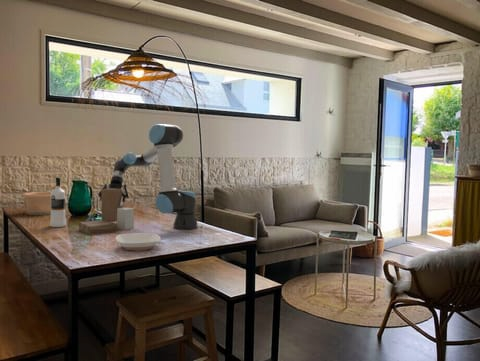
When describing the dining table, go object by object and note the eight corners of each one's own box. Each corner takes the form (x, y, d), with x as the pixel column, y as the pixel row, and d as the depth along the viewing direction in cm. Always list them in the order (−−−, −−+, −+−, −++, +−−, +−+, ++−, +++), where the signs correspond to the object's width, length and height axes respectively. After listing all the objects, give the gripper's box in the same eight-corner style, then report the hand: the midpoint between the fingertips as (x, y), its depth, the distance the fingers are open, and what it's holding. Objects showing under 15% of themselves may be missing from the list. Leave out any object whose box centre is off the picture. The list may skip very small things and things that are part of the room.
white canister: (133, 227, 257) (134, 208, 256) (125, 229, 251) (125, 209, 250) (126, 226, 260) (126, 207, 259) (117, 228, 254) (117, 208, 253)
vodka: (69, 225, 256) (69, 177, 254) (56, 228, 248) (56, 178, 246) (59, 224, 261) (59, 176, 259) (46, 226, 253) (46, 177, 250)
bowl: (163, 252, 201) (163, 241, 200) (116, 254, 193) (116, 243, 193) (156, 242, 221) (156, 232, 221) (114, 244, 214) (114, 234, 213)
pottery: (42, 216, 285) (42, 196, 284) (16, 214, 291) (15, 194, 290) (63, 212, 306) (63, 192, 305) (39, 210, 312) (39, 191, 311)
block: (115, 221, 258) (115, 189, 257) (100, 221, 260) (100, 189, 259) (123, 219, 268) (123, 188, 267) (109, 218, 270) (108, 188, 269)
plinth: (116, 232, 244) (117, 223, 244) (90, 235, 234) (90, 226, 233) (105, 227, 256) (105, 219, 256) (79, 230, 245) (79, 222, 245)
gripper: (136, 183, 279) (131, 209, 264) (100, 182, 278) (93, 208, 263) (134, 175, 273) (129, 201, 259) (97, 175, 272) (90, 201, 258)
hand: (111, 205), depth 261 cm, fingers closed on block, 12 cm apart
